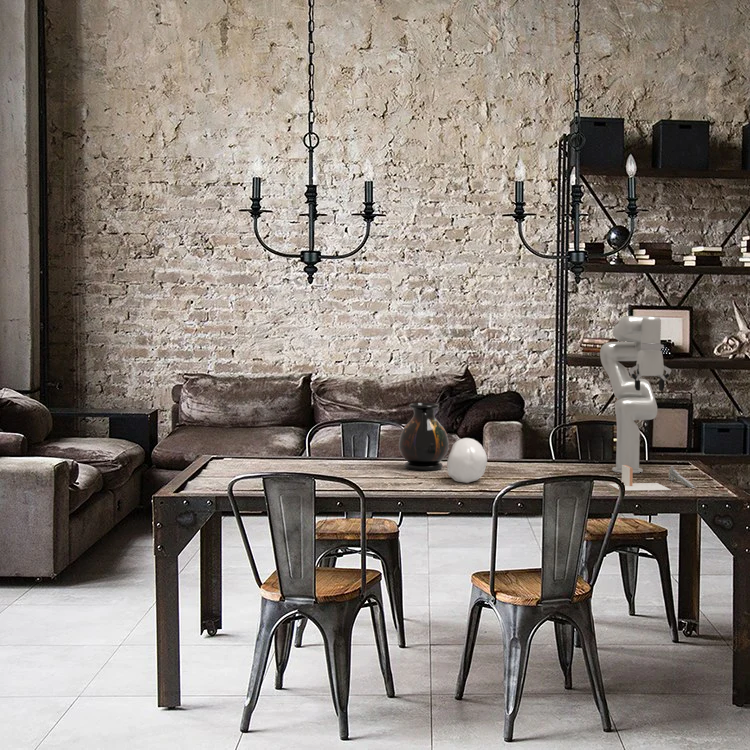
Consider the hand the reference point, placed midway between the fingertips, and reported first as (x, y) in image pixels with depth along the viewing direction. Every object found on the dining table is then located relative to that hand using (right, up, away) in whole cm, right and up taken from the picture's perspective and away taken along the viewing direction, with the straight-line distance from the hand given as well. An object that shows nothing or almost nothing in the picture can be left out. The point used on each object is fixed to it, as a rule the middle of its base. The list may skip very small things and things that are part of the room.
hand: (649, 390), depth 404 cm
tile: (-11, -37, -9) cm, 39 cm away
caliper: (+12, -38, -5) cm, 40 cm away
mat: (-8, -38, -14) cm, 41 cm away
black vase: (-89, -35, +31) cm, 101 cm away
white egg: (-73, -37, +3) cm, 82 cm away
